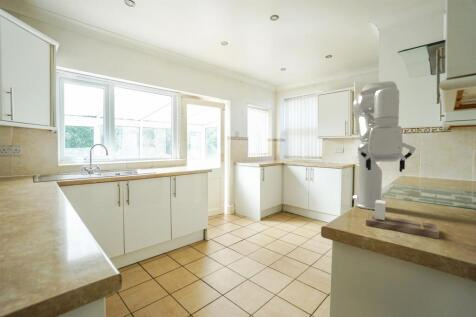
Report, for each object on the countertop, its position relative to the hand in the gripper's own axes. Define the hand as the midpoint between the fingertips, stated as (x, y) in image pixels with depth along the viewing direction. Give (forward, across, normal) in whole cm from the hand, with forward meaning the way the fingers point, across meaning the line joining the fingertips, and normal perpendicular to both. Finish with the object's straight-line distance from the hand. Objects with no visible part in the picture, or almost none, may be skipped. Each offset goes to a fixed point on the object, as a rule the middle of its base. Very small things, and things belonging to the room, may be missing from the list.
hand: (384, 170), depth 80 cm
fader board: (+20, +5, +1) cm, 21 cm away
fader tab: (+18, -1, +1) cm, 18 cm away
